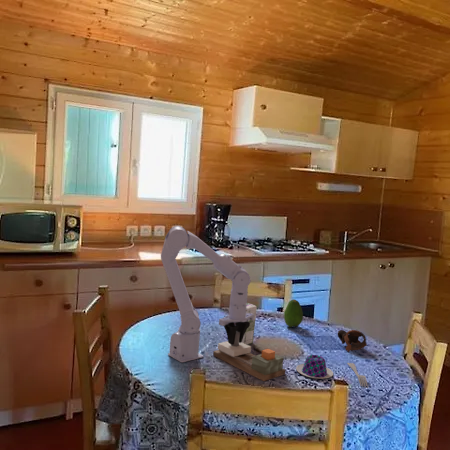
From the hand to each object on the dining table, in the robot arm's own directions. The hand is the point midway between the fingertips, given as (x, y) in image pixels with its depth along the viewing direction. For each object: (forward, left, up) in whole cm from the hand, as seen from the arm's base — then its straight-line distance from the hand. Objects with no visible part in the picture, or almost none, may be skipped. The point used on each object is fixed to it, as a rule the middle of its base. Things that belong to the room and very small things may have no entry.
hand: (234, 342), depth 167 cm
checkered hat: (+15, -23, -6) cm, 28 cm away
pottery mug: (+46, -16, -6) cm, 49 cm away
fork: (+26, -32, -6) cm, 42 cm away
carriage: (0, 0, -3) cm, 3 cm away
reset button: (0, -15, -1) cm, 16 cm away
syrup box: (+13, +9, -5) cm, 17 cm away
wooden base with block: (0, -7, -5) cm, 9 cm away
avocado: (+45, +12, -5) cm, 47 cm away
